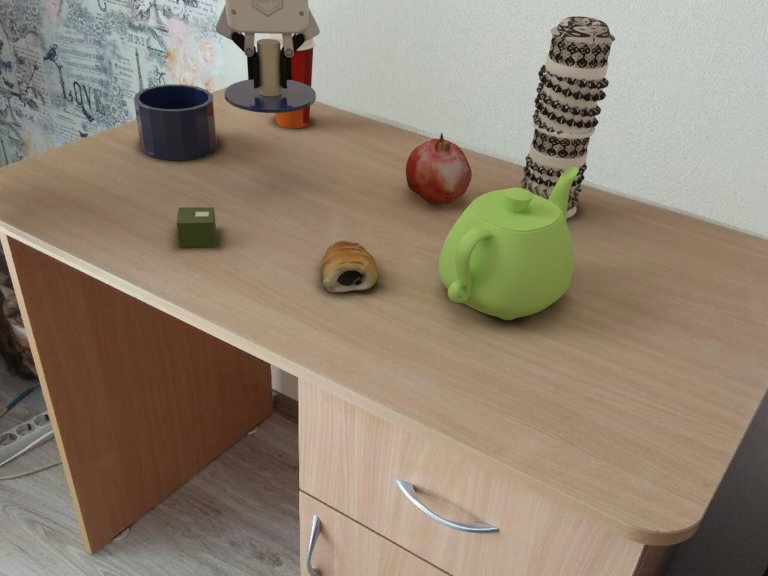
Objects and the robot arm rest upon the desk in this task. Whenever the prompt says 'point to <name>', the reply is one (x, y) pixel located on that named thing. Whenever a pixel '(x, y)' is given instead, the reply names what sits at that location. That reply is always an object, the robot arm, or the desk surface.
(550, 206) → the teapot
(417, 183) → the fruit
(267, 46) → the lid
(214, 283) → the desk surface
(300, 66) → the paper cup
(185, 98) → the dark blue round pot
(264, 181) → the desk surface
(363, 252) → the pastry
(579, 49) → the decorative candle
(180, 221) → the olive cube with label
